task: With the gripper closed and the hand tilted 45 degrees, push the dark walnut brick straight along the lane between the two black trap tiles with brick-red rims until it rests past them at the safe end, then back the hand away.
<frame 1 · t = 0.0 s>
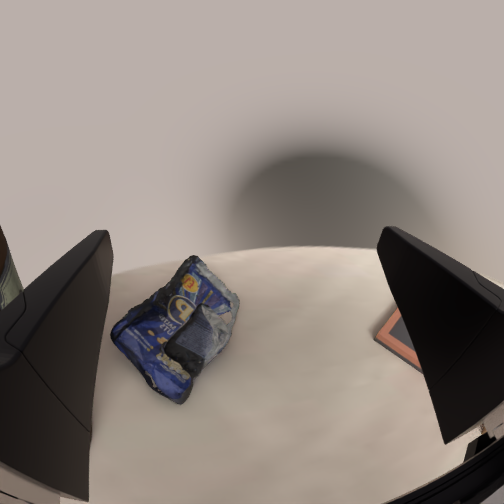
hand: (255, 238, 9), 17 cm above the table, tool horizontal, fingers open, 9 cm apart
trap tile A: (420, 338, 27), on the table
snack package: (185, 344, 26), on the table
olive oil: (42, 428, 17), on the table
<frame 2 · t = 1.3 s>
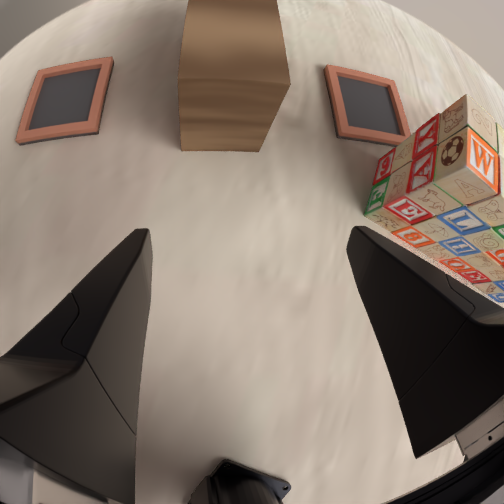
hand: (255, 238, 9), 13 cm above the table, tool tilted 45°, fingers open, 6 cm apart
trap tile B: (366, 107, 26), on the table
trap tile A: (65, 101, 21), on the table
walnut brick: (220, 83, 24), on the table
stack of blocks: (449, 239, 26), on the table
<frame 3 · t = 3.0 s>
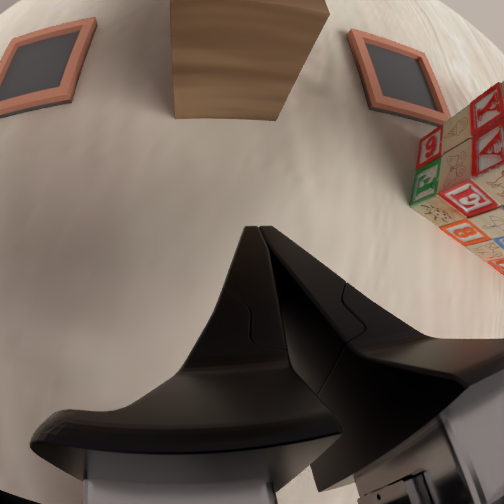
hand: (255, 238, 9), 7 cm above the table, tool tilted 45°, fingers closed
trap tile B: (398, 79, 20), on the table
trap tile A: (38, 69, 15), on the table
walnut brick: (225, 42, 18), on the table
stack of blocks: (494, 235, 21), on the table
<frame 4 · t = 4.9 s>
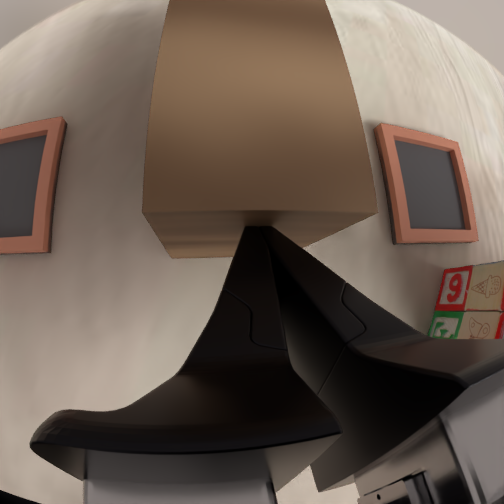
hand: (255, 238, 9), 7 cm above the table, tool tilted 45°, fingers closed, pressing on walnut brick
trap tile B: (427, 188, 19), on the table
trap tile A: (5, 190, 14), on the table
walnut brick: (226, 135, 17), on the table, touching gripper
stack of blocks: (500, 346, 19), on the table
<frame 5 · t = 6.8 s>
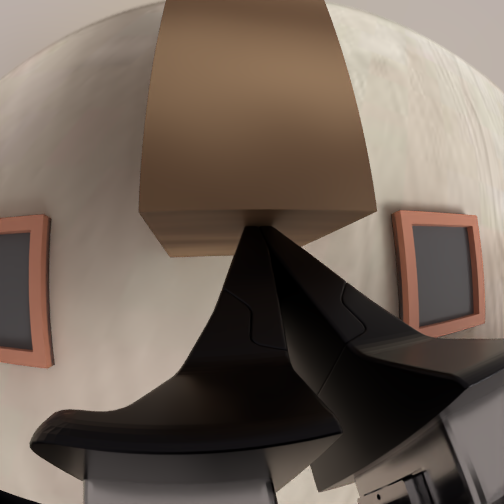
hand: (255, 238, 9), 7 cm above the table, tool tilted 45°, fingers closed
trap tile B: (441, 273, 18), on the table
walnut brick: (224, 134, 17), on the table, touching gripper
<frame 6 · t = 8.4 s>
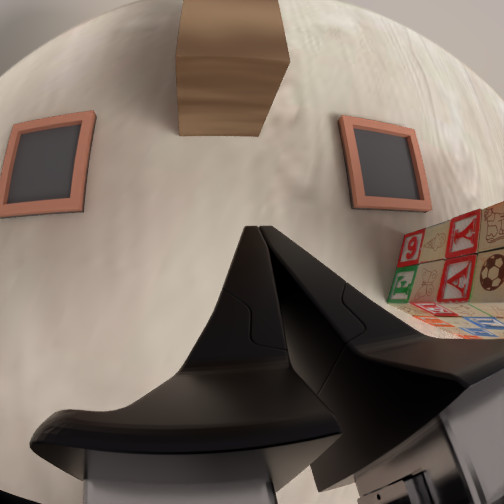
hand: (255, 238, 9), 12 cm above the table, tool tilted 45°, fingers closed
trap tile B: (384, 166, 24), on the table
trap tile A: (45, 166, 19), on the table
walnut brick: (218, 69, 23), on the table
stack of blocks: (467, 307, 25), on the table
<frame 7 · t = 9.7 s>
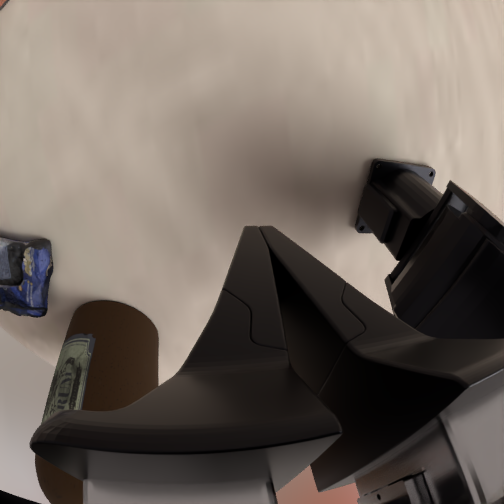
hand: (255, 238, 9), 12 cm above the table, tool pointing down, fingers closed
snack package: (9, 256, 22), on the table
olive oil: (114, 329, 29), on the table
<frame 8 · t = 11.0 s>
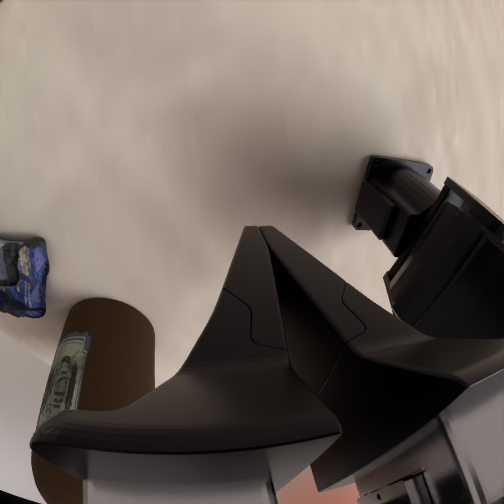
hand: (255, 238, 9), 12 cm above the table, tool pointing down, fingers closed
snack package: (5, 257, 22), on the table
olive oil: (110, 327, 28), on the table
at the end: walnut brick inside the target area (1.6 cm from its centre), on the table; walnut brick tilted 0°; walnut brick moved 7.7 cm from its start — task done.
